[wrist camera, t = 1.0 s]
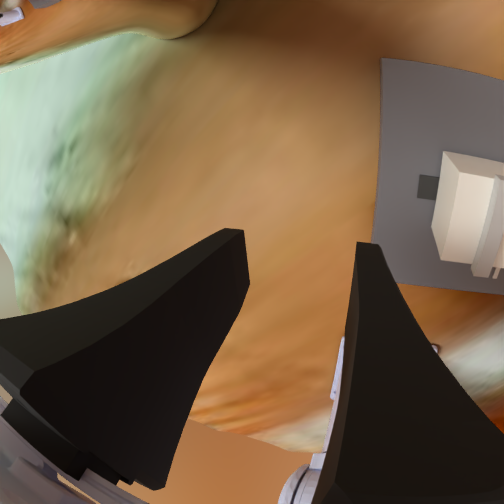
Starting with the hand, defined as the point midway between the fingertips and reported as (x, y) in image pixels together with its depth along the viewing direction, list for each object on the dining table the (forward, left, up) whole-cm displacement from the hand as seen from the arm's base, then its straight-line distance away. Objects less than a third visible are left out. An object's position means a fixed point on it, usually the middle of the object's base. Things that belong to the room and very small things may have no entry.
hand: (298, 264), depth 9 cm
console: (0, -14, -9) cm, 16 cm away
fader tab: (0, -7, -7) cm, 10 cm away
